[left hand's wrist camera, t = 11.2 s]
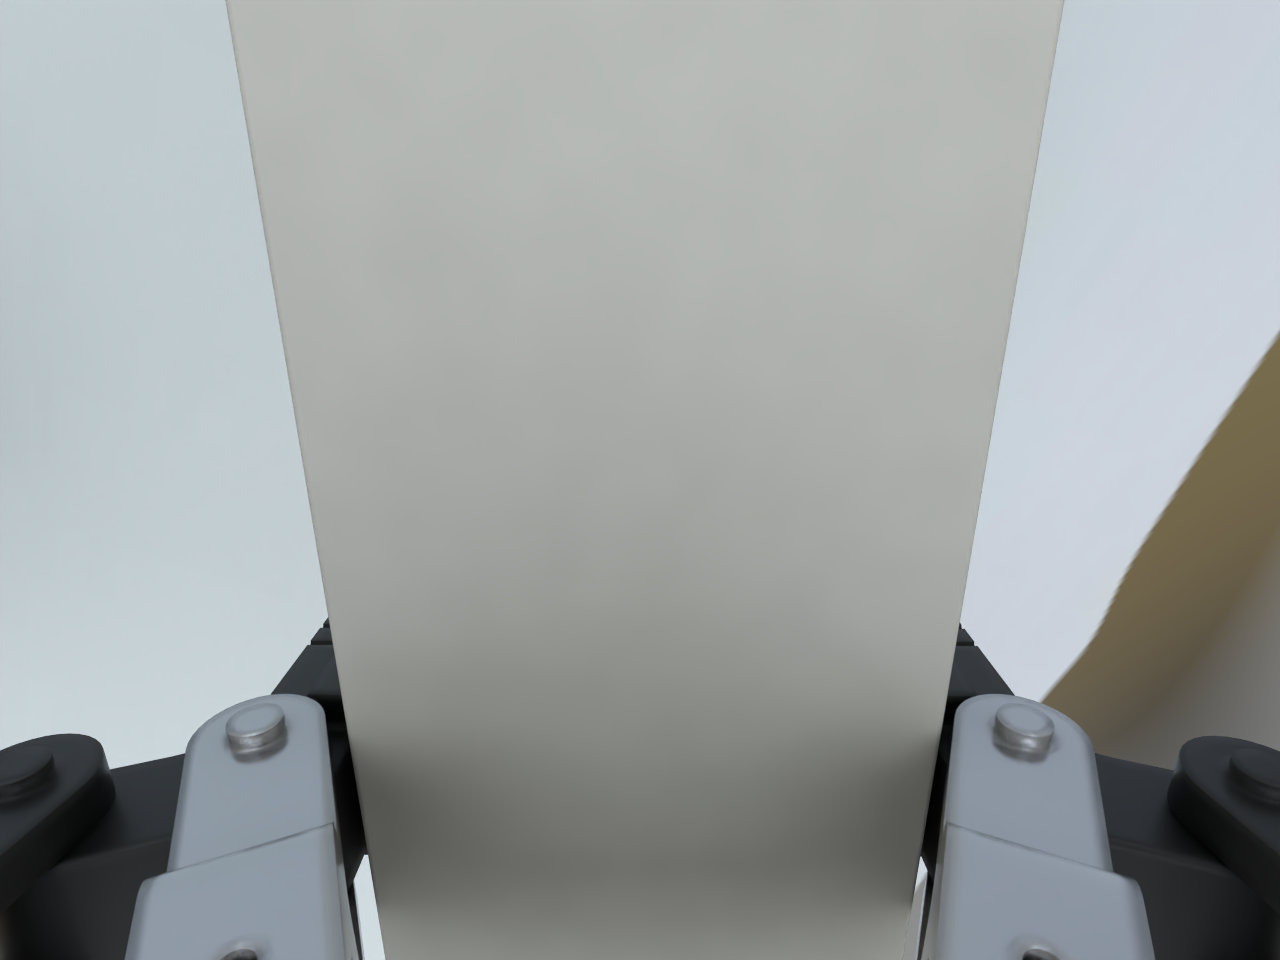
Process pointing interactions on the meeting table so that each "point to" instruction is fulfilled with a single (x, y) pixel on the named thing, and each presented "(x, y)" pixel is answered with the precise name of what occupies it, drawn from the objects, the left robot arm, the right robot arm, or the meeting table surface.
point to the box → (644, 442)
